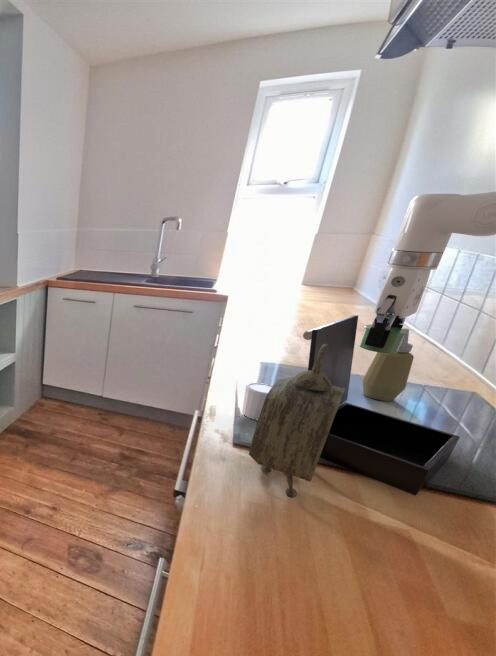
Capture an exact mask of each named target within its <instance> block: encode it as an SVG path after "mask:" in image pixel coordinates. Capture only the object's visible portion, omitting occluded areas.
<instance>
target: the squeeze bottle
mask: <svg viewBox="0 0 496 656" xmlns="http://www.w3.org/2000/svg"><path fill="white" fill-rule="evenodd" d="M402 329H404V330H406V331H408V333H407V334H406V335H404V338H403V340H402V343H401V345H400V347H399V350H398V352H397V353H380V352H376V354H375V355H374V357H373V359H372V361H371V363H370V365H369V366H368V369H367V370H366V372H365V374H364V376H363V378H362V393H363V395H364V396H366V397H369V398H370V399H374V400H378V401H384V402H386V401H387V402H390V401H391V402H392V401H394V400H395V399H396V398H398V396H399V395H400V394H401V393H402V392H403V391H404V390H406V386H407V383H408V380H409V376H410V372H411V369H412V365H413V361H414V357H415V356H414V355H413V353H411V351H412V349H413V347H414V345H413V343H409V337H410V328H408V327H407V328H406V327H402Z"/></svg>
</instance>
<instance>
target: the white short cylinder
mask: <svg viewBox="0 0 496 656" xmlns="http://www.w3.org/2000/svg"><path fill="white" fill-rule="evenodd" d="M272 387H273V385H271V384H267V383H262V382H248V383H247V384H245V389H244V395H243V402H242V408H241V414H242V413H243V414H244V415H245V416H247V417H249V418H248V419H250V418H253V419H259V416H260V413H261V409H262V406H263V403H264V400H265V398H266V396H267V394H268V392H269V391H270V389H271V388H272ZM243 414H242V415H243ZM244 415H243V416H244ZM245 416H244V417H245ZM247 417H246V418H247ZM253 419H252V420H253Z"/></svg>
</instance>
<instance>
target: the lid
mask: <svg viewBox="0 0 496 656" xmlns="http://www.w3.org/2000/svg"><path fill="white" fill-rule="evenodd" d="M358 322H359V315H357V314H356V315H355V314H354V315H351V316H348V317H345V318H342V319H339V320H336V321H332V322H330V323H327V324H324V325H321V326H319V327H315V328H311V329H310V330H306V331H304V332H303V334H302V337H303V339H304V340H305V341H309V340H310V347H309V355H308V356H309V357H308V367H307V371H312V369H313V366H314V363H315V362H316V359H317V356H318V353H319V350H320V348H321V347H322V345H324V344H327V345H328V347H327V350H326V353H325V355H324V358H323V362H322V364H323V365H322V368H321V370H320V372H321V373H323V374H326V376H327V377H328V378H329V379H330V381H331V384H332V386H337V387H341V388H345V391H344V394H343V396H342V399H341V402H340V404H342V403H344V402H347V401H348V396H349V389H350V381H351V376H352V375H351V373H352V367H353V359H354V351H355V345H356V336H357V329H358ZM340 404H339V405H340Z"/></svg>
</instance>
